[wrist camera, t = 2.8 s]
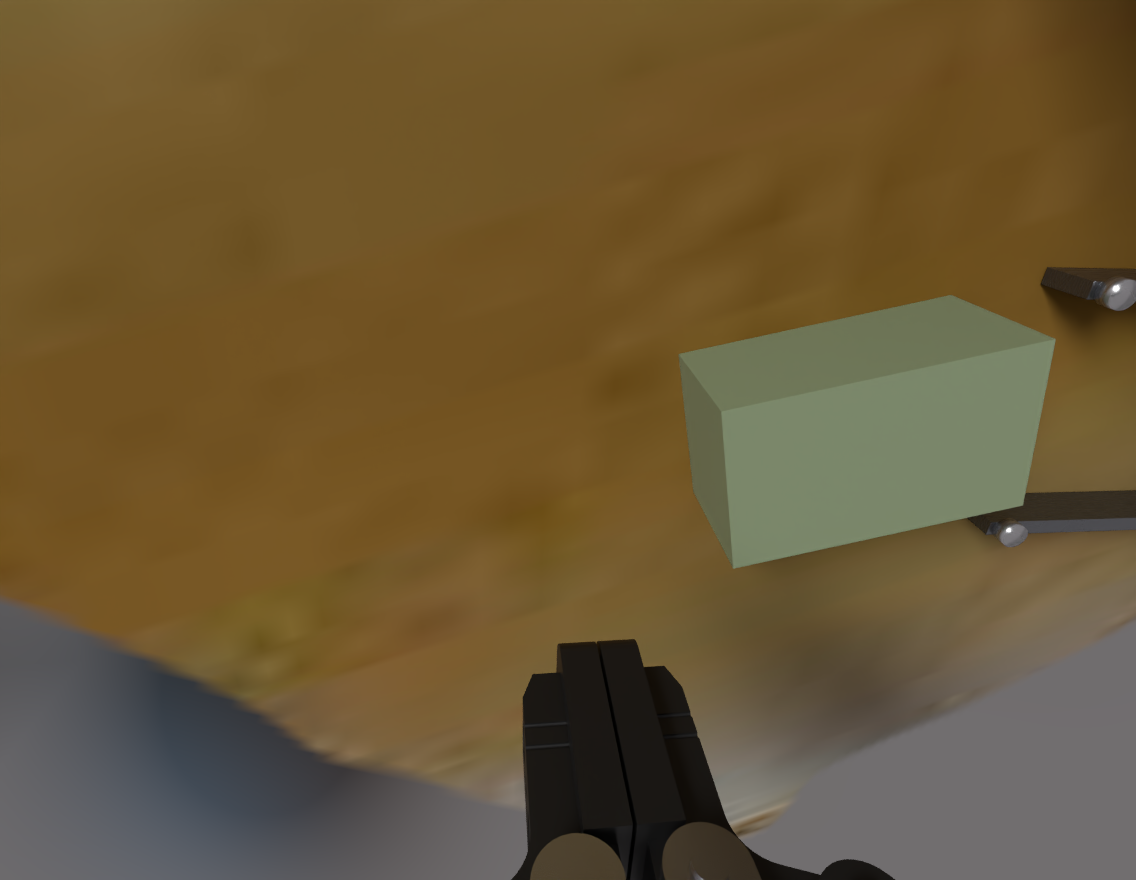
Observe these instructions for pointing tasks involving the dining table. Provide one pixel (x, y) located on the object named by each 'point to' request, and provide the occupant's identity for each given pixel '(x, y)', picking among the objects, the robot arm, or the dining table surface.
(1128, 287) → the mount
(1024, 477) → the pale green block
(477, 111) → the dining table surface
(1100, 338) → the dining table surface
